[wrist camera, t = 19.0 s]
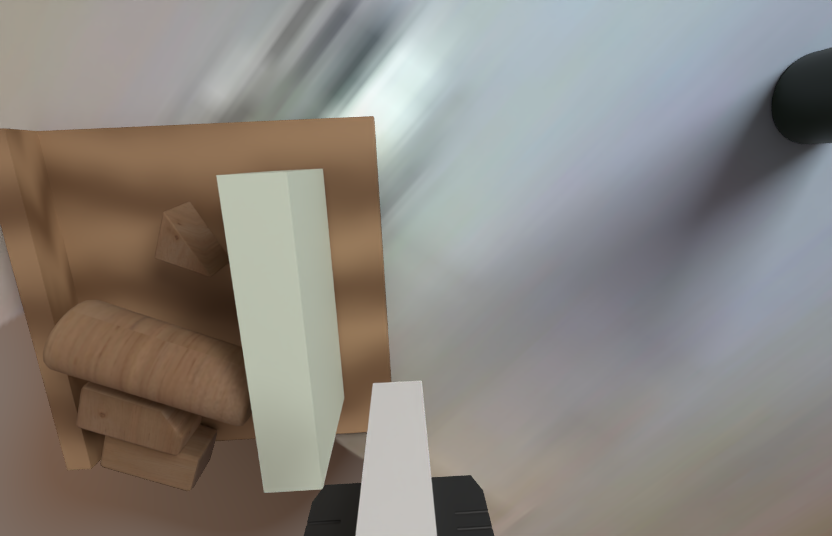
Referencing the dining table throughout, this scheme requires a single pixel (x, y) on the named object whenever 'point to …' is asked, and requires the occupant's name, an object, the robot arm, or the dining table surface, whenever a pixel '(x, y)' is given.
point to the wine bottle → (805, 99)
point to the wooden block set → (154, 371)
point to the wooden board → (139, 229)
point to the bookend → (286, 319)
